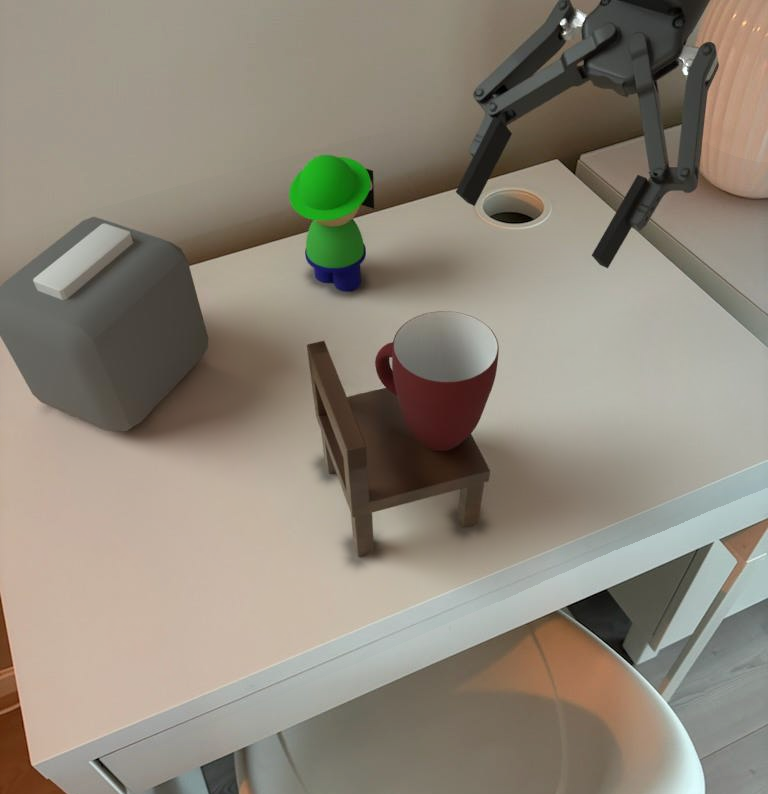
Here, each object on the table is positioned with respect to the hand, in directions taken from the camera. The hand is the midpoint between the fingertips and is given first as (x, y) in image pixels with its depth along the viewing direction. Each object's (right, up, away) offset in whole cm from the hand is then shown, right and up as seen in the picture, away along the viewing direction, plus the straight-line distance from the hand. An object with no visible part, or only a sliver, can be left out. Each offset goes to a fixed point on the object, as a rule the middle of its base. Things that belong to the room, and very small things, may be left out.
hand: (529, 229), depth 62 cm
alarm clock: (-39, -10, +18) cm, 44 cm away
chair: (-11, -22, +9) cm, 26 cm away
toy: (-18, +4, +28) cm, 33 cm away
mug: (-8, -16, +3) cm, 19 cm away
